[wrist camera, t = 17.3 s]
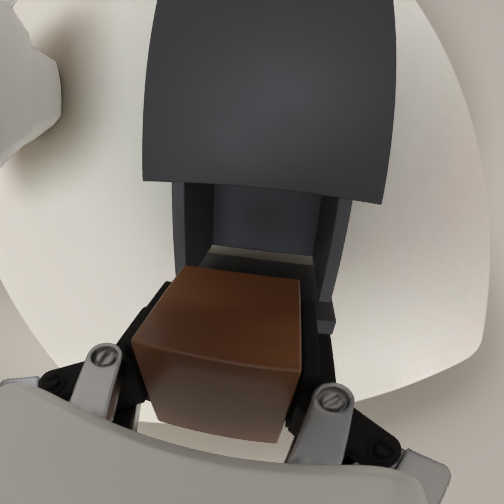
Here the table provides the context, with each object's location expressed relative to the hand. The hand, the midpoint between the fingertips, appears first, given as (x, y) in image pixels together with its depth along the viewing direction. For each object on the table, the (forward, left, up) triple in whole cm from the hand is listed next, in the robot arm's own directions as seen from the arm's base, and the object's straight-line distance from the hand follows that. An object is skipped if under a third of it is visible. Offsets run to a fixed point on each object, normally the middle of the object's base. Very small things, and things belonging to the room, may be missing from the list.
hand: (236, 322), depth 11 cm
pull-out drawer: (0, +1, -13) cm, 13 cm away
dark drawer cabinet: (0, -12, -14) cm, 18 cm away
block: (0, 0, 0) cm, 0 cm away
